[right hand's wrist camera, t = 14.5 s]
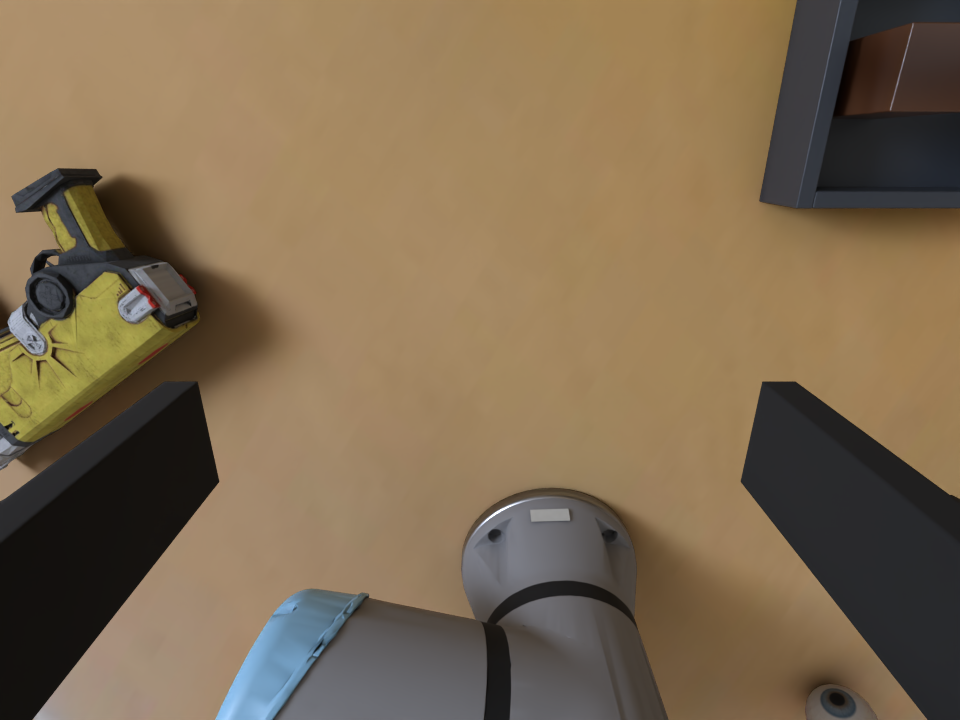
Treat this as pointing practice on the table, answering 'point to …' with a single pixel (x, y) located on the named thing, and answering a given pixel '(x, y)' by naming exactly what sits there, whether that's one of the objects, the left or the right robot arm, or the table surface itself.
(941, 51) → the walnut block
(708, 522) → the table surface
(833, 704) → the eyeball
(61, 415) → the toy gun
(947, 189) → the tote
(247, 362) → the table surface
